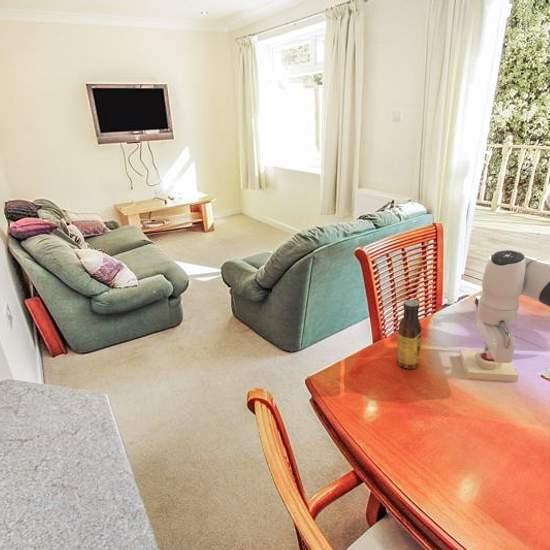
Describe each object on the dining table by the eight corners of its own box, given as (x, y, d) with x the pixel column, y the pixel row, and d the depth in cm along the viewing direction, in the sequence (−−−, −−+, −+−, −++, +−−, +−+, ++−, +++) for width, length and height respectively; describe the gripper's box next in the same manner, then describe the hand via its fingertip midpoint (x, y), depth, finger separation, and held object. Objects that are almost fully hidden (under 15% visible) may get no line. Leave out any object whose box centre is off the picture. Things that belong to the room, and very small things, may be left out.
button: (493, 357, 104) (494, 352, 104) (497, 365, 101) (498, 360, 101) (479, 356, 105) (480, 351, 105) (482, 364, 102) (483, 359, 101)
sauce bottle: (420, 371, 105) (426, 309, 97) (397, 370, 107) (401, 309, 99) (417, 356, 111) (422, 297, 103) (395, 356, 113) (398, 297, 104)
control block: (504, 358, 107) (507, 347, 106) (517, 381, 98) (520, 369, 97) (459, 356, 110) (461, 344, 108) (467, 378, 101) (469, 366, 100)
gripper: (525, 334, 87) (515, 381, 93) (498, 294, 105) (490, 336, 111) (495, 333, 88) (487, 379, 94) (473, 293, 107) (467, 334, 112)
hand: (488, 355), depth 103 cm, fingers closed, pressing on button
